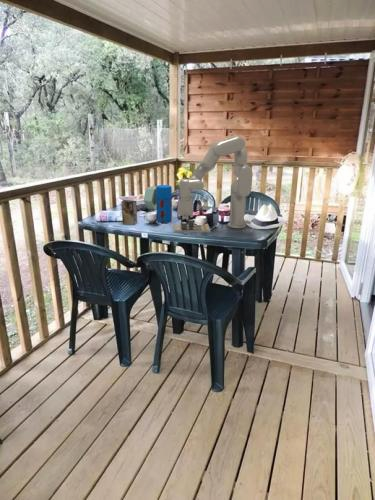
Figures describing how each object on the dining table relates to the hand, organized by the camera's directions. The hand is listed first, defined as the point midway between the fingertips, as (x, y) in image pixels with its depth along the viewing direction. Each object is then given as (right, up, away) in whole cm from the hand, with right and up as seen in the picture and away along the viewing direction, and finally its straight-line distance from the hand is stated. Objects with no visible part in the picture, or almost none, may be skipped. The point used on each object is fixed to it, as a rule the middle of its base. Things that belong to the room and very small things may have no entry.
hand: (185, 225), depth 236 cm
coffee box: (-39, +2, +12) cm, 41 cm away
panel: (+4, -2, +1) cm, 5 cm away
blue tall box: (-15, +4, +19) cm, 25 cm away
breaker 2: (-1, -3, -5) cm, 6 cm away
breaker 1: (-1, +2, +6) cm, 6 cm away
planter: (-25, +17, +53) cm, 61 cm away
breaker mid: (+4, -1, 0) cm, 4 cm away
